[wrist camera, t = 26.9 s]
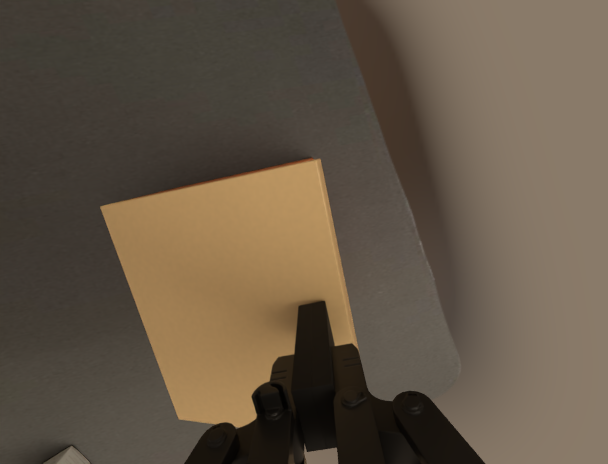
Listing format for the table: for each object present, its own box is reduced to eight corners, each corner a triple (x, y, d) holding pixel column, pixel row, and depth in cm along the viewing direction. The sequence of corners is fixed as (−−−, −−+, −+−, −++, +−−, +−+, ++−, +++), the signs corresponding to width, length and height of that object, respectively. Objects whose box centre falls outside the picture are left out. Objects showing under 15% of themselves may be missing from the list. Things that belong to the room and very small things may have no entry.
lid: (320, 158, 16) (316, 159, 15) (375, 434, 20) (374, 445, 19) (109, 203, 22) (99, 206, 21) (185, 411, 26) (178, 419, 25)
